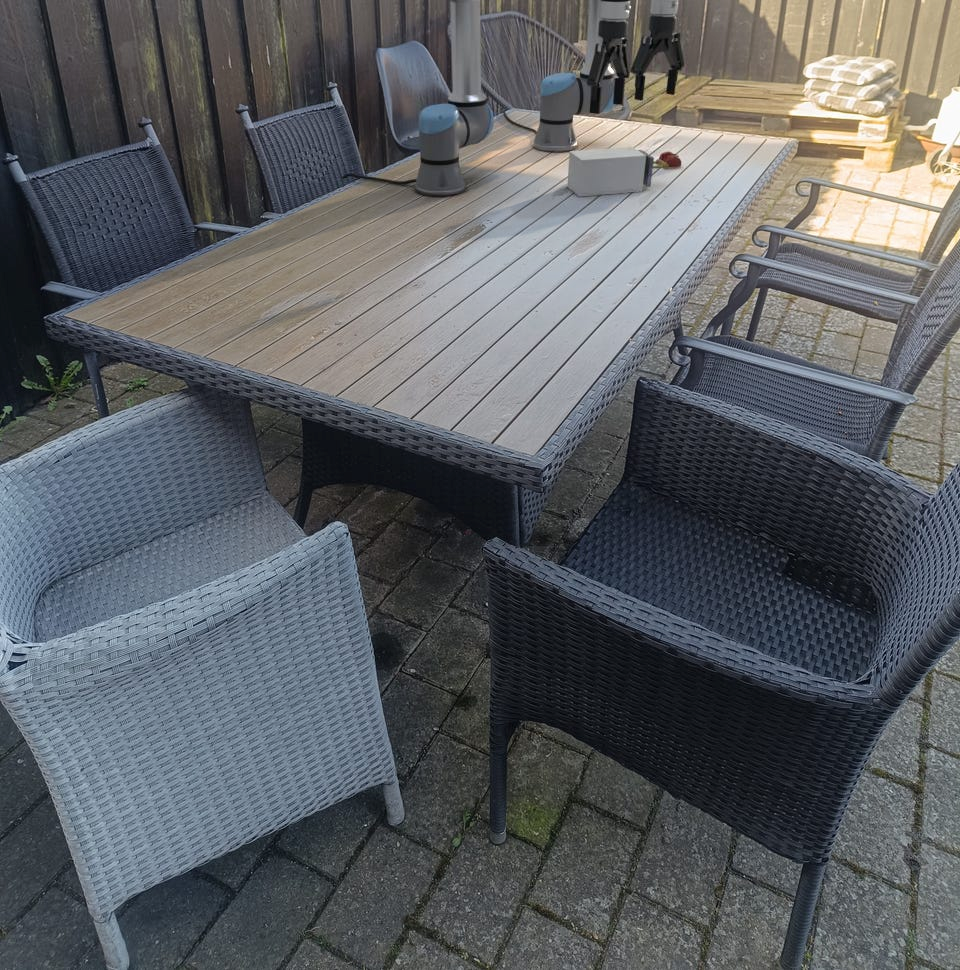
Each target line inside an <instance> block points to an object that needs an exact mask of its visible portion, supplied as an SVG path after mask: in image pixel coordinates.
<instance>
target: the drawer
mask: <svg viewBox="0 0 960 970" xmlns="http://www.w3.org/2000/svg"><path fill="white" fill-rule="evenodd" d="M637 150H638V151H640V152H641V153H643V154H645V155H646V162H645V171H644V180H643V187H646V188H651V186H652V179H653V177H652V176H653V169H654V170H655V169H663V170H666V171H667V170H668V169H669V168H670V167H669V165H668V164H667V163H665V162H663V161H662V160H660V159H659V158H656V159H655V157H654V156H653V155H651V154H649V153H647V152H646V151H644V150H643V149H637Z"/></svg>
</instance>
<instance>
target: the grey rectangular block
mask: <svg viewBox="0 0 960 970" xmlns="http://www.w3.org/2000/svg"><path fill="white" fill-rule="evenodd" d="M638 150H639V149H636V148H635V147H633V146H624V147H622V146H621V147H609V148H608V147H607V148H596V149H581V150H570V151H569V153H568V154H569V155H568V168H567V169H568V171H567V188H568V189H569V190H570V191H572V192H573V193H574V194H575V195H576V196H578V197H581V198H582V197H591V196H602V195H603V196H605V195H616V194H628V193H641V192H643V188H644V185H643V180H644V171H645V162H646V155H645V154H643V153H641V152H640V151H638Z"/></svg>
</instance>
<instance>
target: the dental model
mask: <svg viewBox="0 0 960 970" xmlns="http://www.w3.org/2000/svg"><path fill="white" fill-rule="evenodd" d="M658 159H660V160H662V161H663V162H665V163H667V164H668V165H669V168H677V167H678V168H681V166H682V160H681V158H680V156H679V154H677V153H674V152H672V151H664V152H662V153H661V154H660V155H659V157H658Z"/></svg>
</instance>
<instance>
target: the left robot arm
mask: <svg viewBox="0 0 960 970" xmlns="http://www.w3.org/2000/svg"><path fill="white" fill-rule="evenodd" d="M631 8H632V7H631V0H601V1H600V13H599V17H600V18H601V20H600V22H599V28H598V36H599V37H602V38H603V41H602V44H598V43H597V44H596V46H595V54H594V58H593V61H592V65H591V69H590V73H589V76H588V80H587V85H588V86H591V99H590V113H594V114H595V115H600V114H601V113H600V106H601V93H602V87H600V85H601V82H602V80H603V77H604V75H605V72H606V70H607V67H608V65H609V64H610V65H611V63H612V64H613V67H614V70H615V71H614V72H615V74H616V77H617V78H615V86H614V98H613V104H615V105H619V106H623V105H624V100H625V87H626V79H629V78H630V75H631V74H630V73H631V72H630V71H631V66H630V58H629V57H630V56H629V48H628V46H629V45H628V44H629V39H628V37H627V36H628V33H629V21H628V19H629V16H630V11H631ZM449 11H450V44H451V45H450V46H451V47H450V48H451V73H452V74H451V76H452V78H451V79H452V81H451V82H452V92H451V93H450V95H449V96H448V97H447V103H438V104H431V105H428V106H426V107H424V108H423V109H422V110H420V112H419V114H418V115H419V116H418V126H417V127H418V137H419V138H418V139H419V157H420V158H419V159H420V161H419V162H420V164H419V168H418V172H417V176H416V178H413V179H407V180H393V179H387V178H381V177H376V176H375V177H374V176H368V175H362V174H357V173H354V172H348V173H345V174H344V175H343V176H342V177H341V180H345V179H347V178H348V177H354V178H358V179H360V180H361V179H362V180H369V181H375V182H380V183H381V182H382V183H387V184H392V185H393V184H394V185H401V186H402V185H403V186H404V185H409V184H413V183H415V185H414V186H415V192H417V193H418V194H420V195H424V196H430V197H450V196H455V195H459V194H461V193H463V192H464V191H466V181H465V179H464V176H463V172H462V169H461V165H460V149H463V148H465V147H469V146H473V145H477V144H479V143H481V142H482V141H485V140H487V138H488V137H489V136H490V135H491V133H492V131H493V129H494V124H495V117H494V112H493V110H492V109H491V106H490V104H489V103H488V102H487V96H486V95H485V94H484V92H483V91H482V54H481V53H482V52H481V51H482V50H481V49H482V48H481V47H482V46H481V41H482V40H481V0H449ZM599 53H600V54H599Z"/></svg>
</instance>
